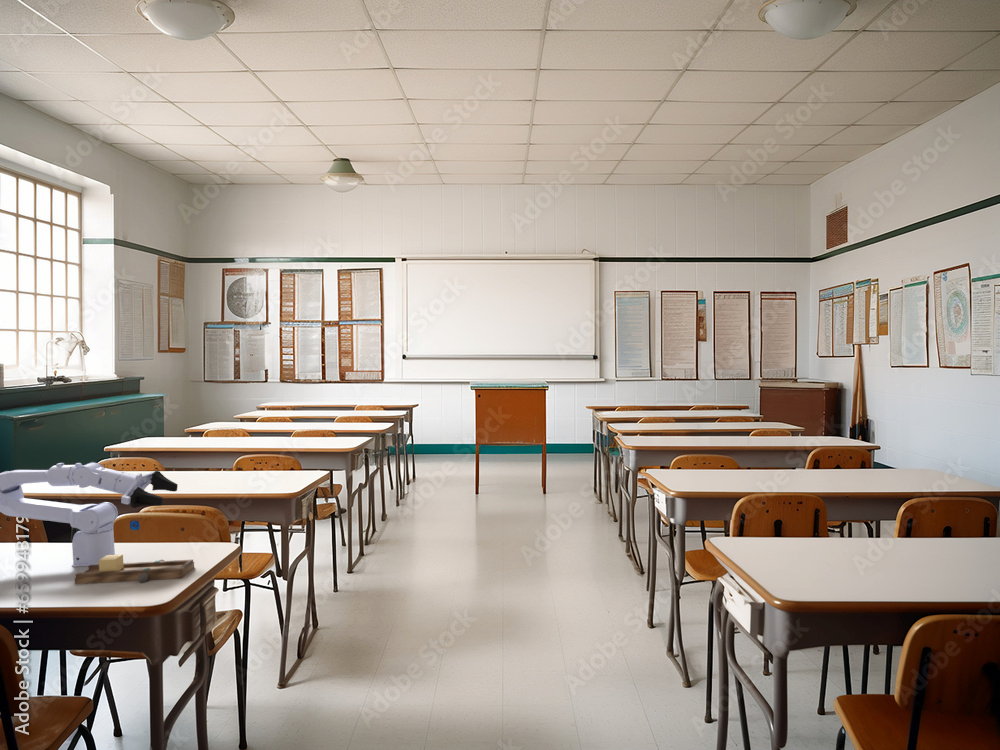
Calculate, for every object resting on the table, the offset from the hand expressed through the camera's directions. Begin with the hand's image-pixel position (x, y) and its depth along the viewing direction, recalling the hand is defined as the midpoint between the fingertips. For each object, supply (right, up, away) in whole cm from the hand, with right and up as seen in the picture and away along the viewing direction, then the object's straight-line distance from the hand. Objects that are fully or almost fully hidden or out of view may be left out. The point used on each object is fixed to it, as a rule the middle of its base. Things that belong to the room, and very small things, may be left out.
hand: (169, 494), depth 181 cm
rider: (-8, -17, -13) cm, 23 cm away
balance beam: (-2, -19, -12) cm, 22 cm away
